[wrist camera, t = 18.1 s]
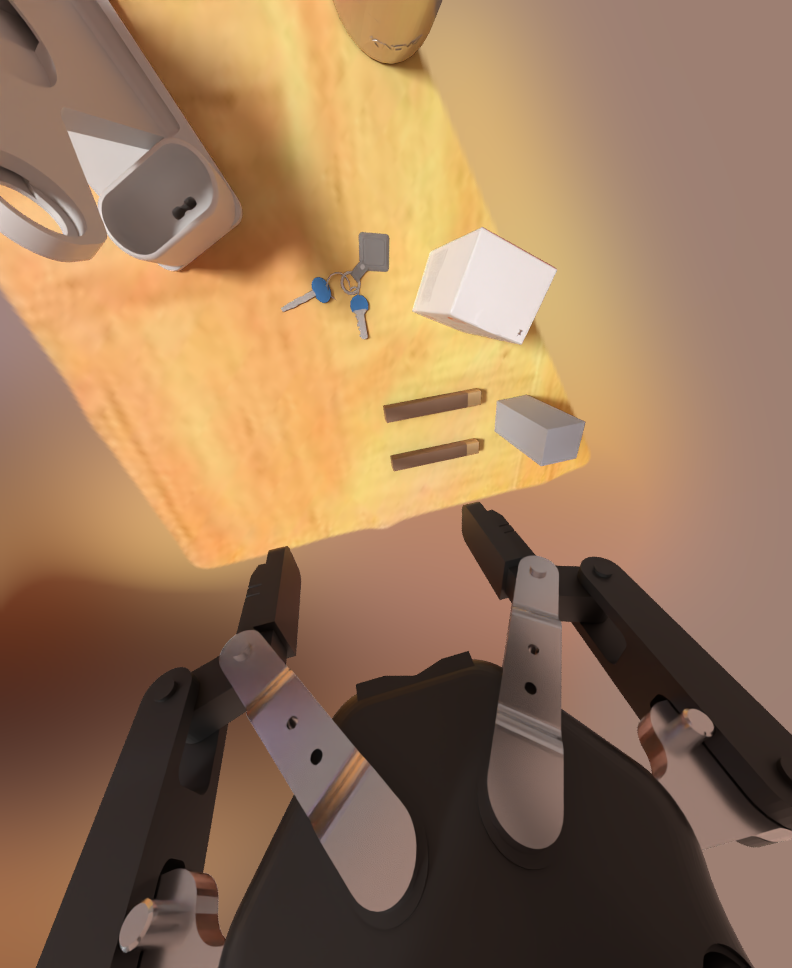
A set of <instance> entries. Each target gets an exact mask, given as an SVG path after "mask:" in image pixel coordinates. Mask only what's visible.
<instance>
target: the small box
mask: <svg viewBox="0 0 792 968" xmlns="http://www.w3.org/2000/svg"><path fill="white" fill-rule="evenodd" d="M556 272H557V269H556V268H555V267H553V266H551V265H550V264H548V263H546V262H544V261H543V260H541V259H539V258H537V257H535V256H533V255H532V254H530V253H528V252H526V251H525V250H523V249H521V248H519V247H517V246H516V245H514V244H512V243H510V242H508V241H506V240H505V239H503V238H501V237H500V236H498V235H496V234H494V233H492V232H490V231H489V230H487V229H485V228H483V227H482V228H480V229H477V230H475V231H473V232H471V233H469V234H467V235H464V236H463V237H460V238H458V239H456V240H454V241H452V242H450V243H448V244H445V245H443V246H441V247H439V248H437V249H435V250H433V251H431V252H430V254H429V258H428V261H427V264H426V267H425V271H424V274H423V277H422V281H421V284H420V287H419V290H418V293H417V297H416V300H415V303H414V306H413V310H412V311H413V312H414V313H417V314H419V315H422V316H424V317H426V318H429V319H431V320H434V321H436V322H439V323H441V324H444V325H446V326H449V327H451V328H454V329H457V330H459V331H462V332H465V333H469V334H474V335H480V336H485V337H489V338H493V339H497V340H501V341H506V342H511V343H515V344H520V345H521V344H522V343H523V341H524V339H525V336H526V334H527V332H528V330H529V328H530V326H531V324H532V322H533V320H534V318H535V316H536V314H537V311H538V310H539V307H540V305H541V303H542V301H543V299H544V297H545V295H546V293H547V291H548V289H549V286H550V284H551V282H552V280H553V278H554V276H555V274H556Z"/></svg>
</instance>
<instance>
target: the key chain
mask: <svg viewBox="0 0 792 968" xmlns="http://www.w3.org/2000/svg"><path fill="white" fill-rule="evenodd" d="M359 259H360V262H359V263H358V265H357V266H356V267H355V268H354V269H353V271H347V272H345V273H344V274H342V273H339V272H335V273H333V274H331V275H330V276H329V278H328V279H327V282H326V281H325V280H324V279H323V278H320V277H317V278H315V279H314V280H313V282H312V289H313V290H312V291H310V292H308V293H306V294H305V295H304V296H302V297H299V298H297V299H295V300H294V301H292V302H290V303H288V304H287V305H285V306H284V307H282V308H281V310H282V311H283V312H284V311H286V310H289V309H291V308H294V307H296V306H297V305H299V304H301V303H303V302H306V301H308V300H309V299H311V298H313V297H315V296H316V298H317V299H318V300H319V301H320V302H322V303H326V302H328V301H329V300H330V297H332V295H331V291H330V288H329V290H328V287H329V285H328V281H329V279H330V277H331V276H332V275H334V274H341V275H343V276H342V277H341V287H342V289H343V290H344V292H345V293H347V294H348V295H354V294H356V293H357V292H358V294H357V295H356V296H354V297H353V298H352V300H351V305H350V307H351V310H352V312H354V313H355V314H356V315H357V316H356V318H357V320H359V322H358V324H357V326H360V328H359V330H360V332H361V335H360V337H361V338H362V339H366V338H368V335H367V329H366V323H365V317H364V314H365V312H366V311H367V310H368V303H367V300H366V299H365V298H364V297H363V296H361V295H359V289H360V285H361V283H360V278H361V277H362V276H363V275H364V274H365V272H366V271H382V272H386V271H388V269H389V236H388V235H387V234H377V233H364V232H361V233H360V234H359ZM348 274H351V275H352V277H353V278H354V279H355V280H356V281H357V282H358V287H351V289H350V291H351V290H352V289H353V288H356V290H355V291H353V292H349V291H347V290H346V289H345V287H344V285H343V280H344V277H345V278H346V279H347V281H348V283H349V287H350V282H349V280H348V278H347V277H346V275H348ZM332 298H333V299H335V298H334V297H332Z"/></svg>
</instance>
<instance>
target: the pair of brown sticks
mask: <svg viewBox="0 0 792 968" xmlns="http://www.w3.org/2000/svg"><path fill="white" fill-rule="evenodd" d="M476 405H481V390H479V389H477V388H475V389H470V390H464V391H459V392H454V393H448V394H443V395H438V396H432V397H427V398H422V399H416V400H411V401H406V402H400V403H395V404H390V405H384V406H383V408H384V415H385V420H386V422H387V423H389V422H394V421H399V420H404V419H409V418H414V417H420V416H425V415H430V414H435V413H440V412H445V411H450V410H456V409H461V408H466V407H471V406H476ZM477 453H479V441H477V440H476V439H475V438H473V439H468V440H464V441H459V442H454V443H449V444H444V445H440V446H435V447H430V448H425V449H420V450H416V451H411V452H406V453H401V454H396V455H392V456H391V463H392V468H393V470H394V471H398V470H402V469H407V468H412V467H416V466H421V465H426V464H430V463H435V462H440V461H444V460H449V459H454V458H458V457H463V456H468V455H472V454H477Z"/></svg>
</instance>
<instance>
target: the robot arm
mask: <svg viewBox="0 0 792 968" xmlns="http://www.w3.org/2000/svg"><path fill="white" fill-rule="evenodd" d="M333 2H334V4H335V7H336V10H337V12H338V15H339V17H340V20H341V21H342V23H343V25H344V27H345V29H346V30H347V32H348V34H349V36H350V37H351V38H352V39H353V41H354V42H355V43H356V45H357V46H358V47H359V48H360V49H361V50H362V51H363V52H365V53H366V54H367V55H368V56H369V57H371V58H373V59H375V60H377V61H379V62H382V63H390V64H393V63H398V62H402V61H404V60H406V59H407V58H409V57H411V56H412V55H413V54H414V53H415V52H416V51H417V50H418V49H419V48H420V47H421V46H422V44H423V42H424V41H425V39H426V37H427V35H428V34H429V32H430V29H431V27H432V25H433V22H434V19H435V17H436V15H437V12H438V10H439V7H440V5H441V2H442V0H333ZM462 533H463V537H464V540H465V542H466V544H467V546H468V547H469V549H470V551H471V553H472V554H473V556H474V557H475V559H476V561H477V562H478V564H479V566H480V568H481V569H482V571H483V573H484V574H485V576H486V578H487V579H488V581H489V583H490V584H491V586H492V588H493V589H494V591H495V593H496V595H497V596H498V598H499V599H500V600H502V599H505V598H509V600H510V601H511V603H512V606H511V613H510V619H509V626H508V633H507V639H506V645H505V652H504V658H503V665H502V667H500V666H498V665H496V664H493V663H491V662H487V661H483V660H476V659H474V660H473V659H472V658H471V656H470V653H469V651H467V652H464V653H460V654H457V655H454V656H450V657H447V658H443V659H441V660H439V661H438V662H436V663H435V664H433V665H432V666H430V667H429V668H427V669H425V670H424V671H422V672H421V673H419V674H417V675H415V676H383V677H379V678H376V679H372V680H369V681H366V682H362V683H359V684H357V685H356V689H357V694H356V695H354V696H353V697H351V698H350V699H349V700H348V701H347V702H345V703H344V704H343V705H342V706H341V708H340V709H339V710H338V711H337V712H336V714H335V715H334V716H333V718H332V719H331V717H330V716H329V715H328V714H327V713H326V711H325V710H324V709H323V708H322V707H321V705H320V704H319V703H318V702H317V700H316V699H315V698H314V697H313V696H312V694H311V693H310V692H309V691H308V690H307V688H306V687H305V686H304V685H303V683H302V682H301V681H300V680H299V679H298V677H297V676H296V675H295V674H294V673H293V671H292V670H291V669H289V668H288V667H287V666H286V659H287V658H289V657H293V656H296V647H297V633H298V619H299V605H300V590H301V576H300V572H299V569H298V567H297V564H296V562H295V560H294V557H293V555H292V553H291V552H290V549H289V547H288V546H285V547H281V548H277V549H272V550H269V552H268V556H267V561H266V564H261V565H258V567H257V568H256V570H255V571H254V573H253V574H252V575H251V578H250V582H249V586H248V587H249V589H248V590H247V595H246V599H245V602H244V606H243V610H242V614H241V618H240V622H239V626H238V630H237V633H236V635H235V636H234V637H233V638H232V639H230V640H229V641H228V642H227V644H226V645H225V646H224V648H223V649H222V651H221V654H220V655H219V656H218V657H217V658H215V659H213V660H212V661H210V662H208V663H206V664H205V665H203V666H201V667H200V668H198V669H196V670H194V671H192V672H190V671H189V670H188V669H187V668H183V667H180V668H175V669H172V670H170V671H168V672H166V673H165V674H163V675H162V676H160V677H159V678H158V679H157V680H156V681H155V682H154V683H153V684H152V685H151V686H150V687H149V689H148V690H147V692H146V693H145V695H144V696H143V699H142V701H141V704H140V706H139V708H138V711H137V714H136V716H135V719H134V721H133V724H132V726H131V729H130V731H129V734H128V736H127V739H126V741H125V744H124V746H123V749H122V752H121V754H120V757H119V759H118V762H117V764H116V767H115V769H114V772H113V774H112V777H111V779H110V782H109V784H108V787H107V789H106V792H105V794H104V797H103V800H102V802H101V805H100V807H99V810H98V812H97V815H96V817H95V820H94V822H93V825H92V827H91V830H90V833H89V835H88V838H87V840H86V843H85V845H84V848H83V850H82V853H81V855H80V858H79V860H78V863H77V865H76V868H75V870H74V873H73V875H72V878H71V880H70V883H69V885H68V888H67V890H66V893H65V896H64V898H63V901H62V903H61V906H60V908H59V911H58V913H57V916H56V918H55V921H54V923H53V926H52V928H51V931H50V933H49V936H48V938H47V941H46V944H45V946H44V949H43V951H42V954H41V956H40V959H39V961H38V964H37V966H36V968H754V967H753V965H752V963H751V962H750V960H749V958H748V957H747V955H746V953H745V952H744V950H743V948H742V946H741V944H740V942H739V940H738V938H737V936H736V934H735V932H734V930H733V928H732V926H731V924H730V922H729V920H728V918H727V916H726V914H725V911H724V909H723V907H722V905H721V902H720V900H719V898H718V895H717V893H716V890H715V888H714V885H713V883H712V880H711V877H710V874H709V871H708V868H707V865H706V862H705V858H704V856H703V853H702V850H704V849H708V848H711V847H715V846H718V845H722V844H725V843H729V842H732V841H737V842H739V843H741V844H744V845H746V846H750V847H761V846H765V845H769V844H773V843H778V842H782V841H786V840H790V839H792V735H791V734H790V733H789V732H788V731H787V730H786V729H785V728H784V727H783V726H782V725H781V724H780V723H779V722H778V721H777V720H776V719H775V718H774V717H773V716H772V715H771V714H770V713H769V712H768V711H767V710H766V709H764V707H763V706H762V705H761V704H760V703H759V702H757V701H756V700H755V699H754V698H753V697H752V696H751V695H750V694H749V693H748V692H747V691H746V690H745V689H744V688H743V687H742V686H741V685H740V684H739V683H738V682H737V681H736V680H735V679H734V678H733V677H732V676H731V675H730V674H729V673H728V672H727V671H726V670H725V669H724V668H722V666H721V665H720V664H718V662H716V661H715V660H714V659H713V658H712V657H711V656H710V655H709V654H708V653H707V652H706V651H705V650H704V649H703V648H702V647H701V646H700V645H699V644H698V643H697V642H696V641H695V640H694V639H693V638H692V637H691V636H690V635H689V634H688V633H687V632H686V631H685V630H683V628H682V627H681V626H680V625H678V624H677V622H675V621H674V620H673V619H672V618H671V617H670V616H669V615H668V614H667V613H666V612H665V611H664V610H663V609H662V608H661V607H660V606H659V605H658V604H657V603H656V602H655V601H654V600H653V599H652V598H651V597H650V596H649V595H648V594H647V593H646V592H645V591H644V590H643V589H642V588H640V586H639V585H638V584H637V583H635V582H634V581H633V580H632V579H631V578H630V577H629V576H628V575H627V574H626V573H625V572H624V571H623V570H622V569H621V568H620V567H619V566H618V565H616V564H615V563H613V562H612V561H610V560H607V559H604V558H600V557H588V558H586V559H584V560H583V561H582V563H581V565H580V567H577V566H556V565H554V564H553V563H552V562H551V561H549V560H548V559H546V558H543V557H540V556H536V555H535V554H534V553H533V552H532V550H531V549H530V548H529V547H528V546H527V544H526V543H525V542H524V541H523V540H522V539H521V537H520V536H519V535H518V534H517V533H516V531H514V529H513V528H512V527H511V525H509V523H508V522H507V521H506V519H505V518H504V517H503V516H502V515H500V514H499V513H497V512H495V511H493V510H489V511H487V510H486V509H485V508H484V507H483V505H482V504H481V503H480V502H475V503H471V504H466V505H463V507H462ZM561 621H567V622H572V624H573V625H574V627H575V628H576V630H577V631H578V632H579V634H580V635H581V637H582V638H583V640H584V641H585V642H586V644H587V645H588V647H589V648H590V649H591V651H592V652H593V654H594V655H595V657H596V658H597V659H598V661H599V662H600V664H601V665H602V667H603V668H604V669H605V671H606V672H607V674H608V675H609V676H610V678H611V679H612V681H613V682H614V684H615V685H616V687H617V688H618V689H619V691H620V692H621V694H622V695H623V696H624V698H625V699H626V700H627V702H628V703H629V705H630V706H631V708H632V709H633V711H634V712H635V713H636V715H637V716H638V718H639V719H640V722H639V723H638V727H637V733H638V738H639V741H640V743H641V746H642V747H643V749H644V751H645V753H646V755H647V757H648V759H649V762H650V766H651V771H652V774H651V773H650V772H649V771H648V770H647V769H645V768H644V767H643V766H642V765H640V764H639V763H638V762H636V761H635V760H633V759H632V758H631V757H629V756H628V755H626V754H625V753H623V752H622V751H621V750H619V749H618V748H616V747H615V746H614V745H612V744H610V743H609V742H608V741H606V740H605V739H604V738H602V737H601V736H599V735H598V734H596V733H595V732H593V731H592V730H591V729H589V728H588V727H587V726H585V725H584V724H582V723H581V722H580V721H578V720H577V719H575V718H574V717H572V716H571V715H570V714H568V713H567V712H565V711H564V710H562V709H561V652H562V650H561V649H562V647H561V646H562V642H561V641H562V625H561ZM246 711H247V712H246ZM244 712H246V714H247V717H248V718H249V720H250V722H251V724H252V725H253V727H254V728H255V730H256V732H257V733H258V735H259V737H260V738H261V740H262V742H263V743H264V745H265V747H266V748H267V750H268V752H269V753H270V755H271V757H272V758H273V760H274V762H275V763H276V765H277V767H278V768H279V770H280V772H281V773H282V775H283V777H284V778H285V779H286V781H287V783H288V785H289V787H290V788H291V789H292V792H293V793H294V795H293V798H292V800H291V802H290V804H289V806H288V808H287V810H286V812H285V814H284V816H283V818H282V820H281V822H280V824H279V826H278V828H277V830H276V832H275V834H274V836H273V838H272V840H271V842H270V845H269V847H268V848H267V850H266V852H265V855H264V857H263V859H262V861H261V863H260V865H259V867H258V869H257V871H256V873H255V875H254V877H253V879H252V881H251V883H250V885H249V887H248V889H247V891H246V893H245V896H244V897H243V899H242V901H241V903H240V906H239V908H238V910H237V912H236V914H235V916H234V919H233V921H232V924H231V926H230V929H229V931H228V934H227V937H226V939H225V937H224V936H223V935H222V932H221V930H220V926H219V921H218V888H217V884H216V882H215V880H214V879H213V877H212V876H210V875H209V874H207V873H203V870H204V864H205V858H206V852H207V846H208V841H209V835H210V829H211V823H212V817H213V811H214V805H215V799H216V793H217V787H218V781H219V775H220V769H221V763H222V757H223V751H224V746H225V740H226V734H227V727H228V723H229V722H231V721H232V720H234V719H235V718H237V717H238V716H240V715H241V714H243V713H244Z"/></svg>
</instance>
